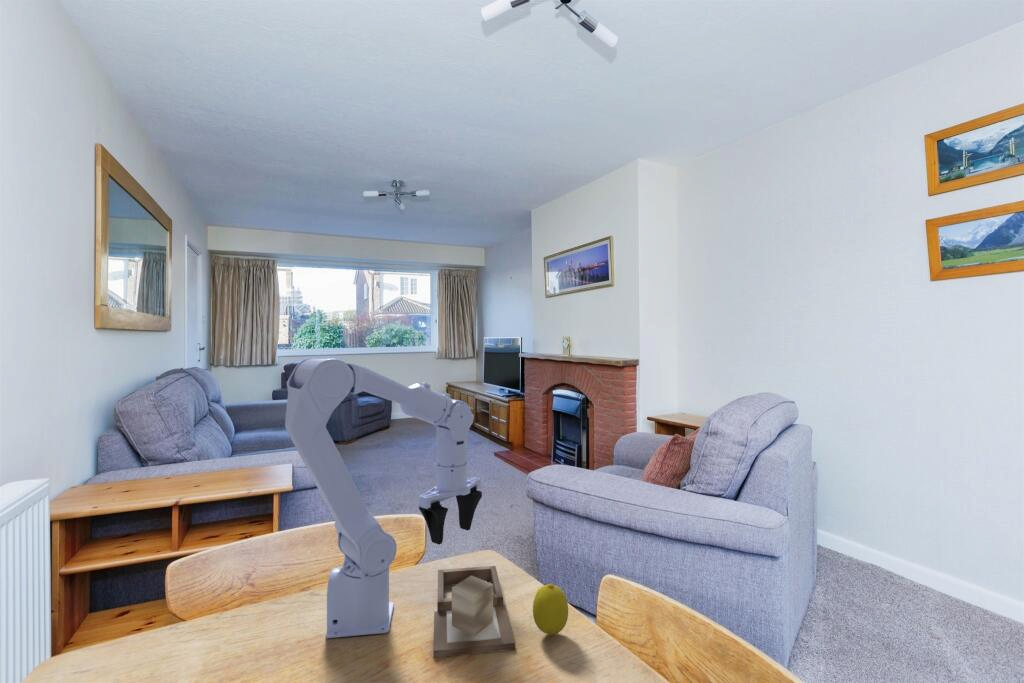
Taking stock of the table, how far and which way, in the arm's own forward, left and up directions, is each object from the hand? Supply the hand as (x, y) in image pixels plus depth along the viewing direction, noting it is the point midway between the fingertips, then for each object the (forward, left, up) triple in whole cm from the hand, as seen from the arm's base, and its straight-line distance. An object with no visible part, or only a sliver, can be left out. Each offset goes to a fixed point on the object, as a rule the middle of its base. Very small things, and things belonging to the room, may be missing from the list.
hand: (451, 535), depth 86 cm
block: (+3, -14, -8) cm, 17 cm away
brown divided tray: (+3, -9, -9) cm, 13 cm away
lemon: (+15, -17, -10) cm, 25 cm away
